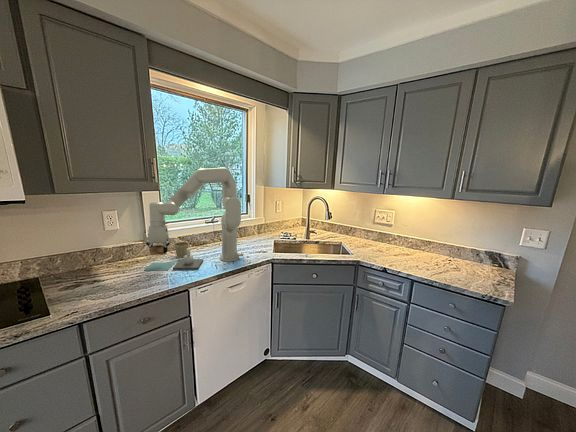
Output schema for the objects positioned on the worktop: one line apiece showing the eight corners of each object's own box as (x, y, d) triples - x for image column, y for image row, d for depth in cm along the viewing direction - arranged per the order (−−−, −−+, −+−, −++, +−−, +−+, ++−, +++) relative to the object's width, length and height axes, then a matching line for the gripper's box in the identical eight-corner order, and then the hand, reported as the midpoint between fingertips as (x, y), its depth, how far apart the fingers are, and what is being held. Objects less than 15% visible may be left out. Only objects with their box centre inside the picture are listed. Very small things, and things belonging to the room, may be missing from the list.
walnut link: (166, 251, 146) (166, 244, 145) (162, 254, 139) (162, 248, 138) (155, 251, 145) (154, 244, 144) (150, 254, 138) (150, 248, 138)
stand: (203, 261, 155) (202, 245, 153) (198, 269, 141) (197, 252, 139) (180, 261, 153) (179, 245, 151) (172, 270, 139) (172, 252, 138)
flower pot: (170, 257, 160) (170, 244, 158) (181, 253, 168) (180, 241, 167) (182, 259, 157) (181, 246, 155) (192, 255, 165) (191, 242, 164)
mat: (174, 262, 150) (174, 262, 150) (167, 270, 139) (167, 269, 138) (152, 263, 148) (152, 262, 148) (143, 270, 137) (143, 270, 137)
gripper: (175, 222, 144) (176, 251, 147) (144, 221, 141) (145, 251, 144) (171, 225, 137) (172, 255, 140) (138, 224, 134) (140, 255, 137)
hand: (158, 253), depth 142 cm, fingers closed on walnut link, 6 cm apart
